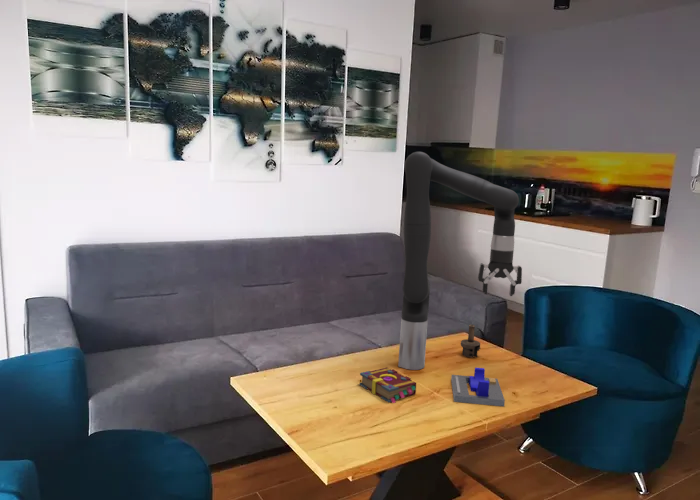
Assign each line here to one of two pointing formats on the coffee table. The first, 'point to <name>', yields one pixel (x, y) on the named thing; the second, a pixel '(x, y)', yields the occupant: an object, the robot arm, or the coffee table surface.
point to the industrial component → (470, 344)
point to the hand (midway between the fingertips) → (498, 294)
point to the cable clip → (479, 383)
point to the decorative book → (388, 384)
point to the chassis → (463, 395)
